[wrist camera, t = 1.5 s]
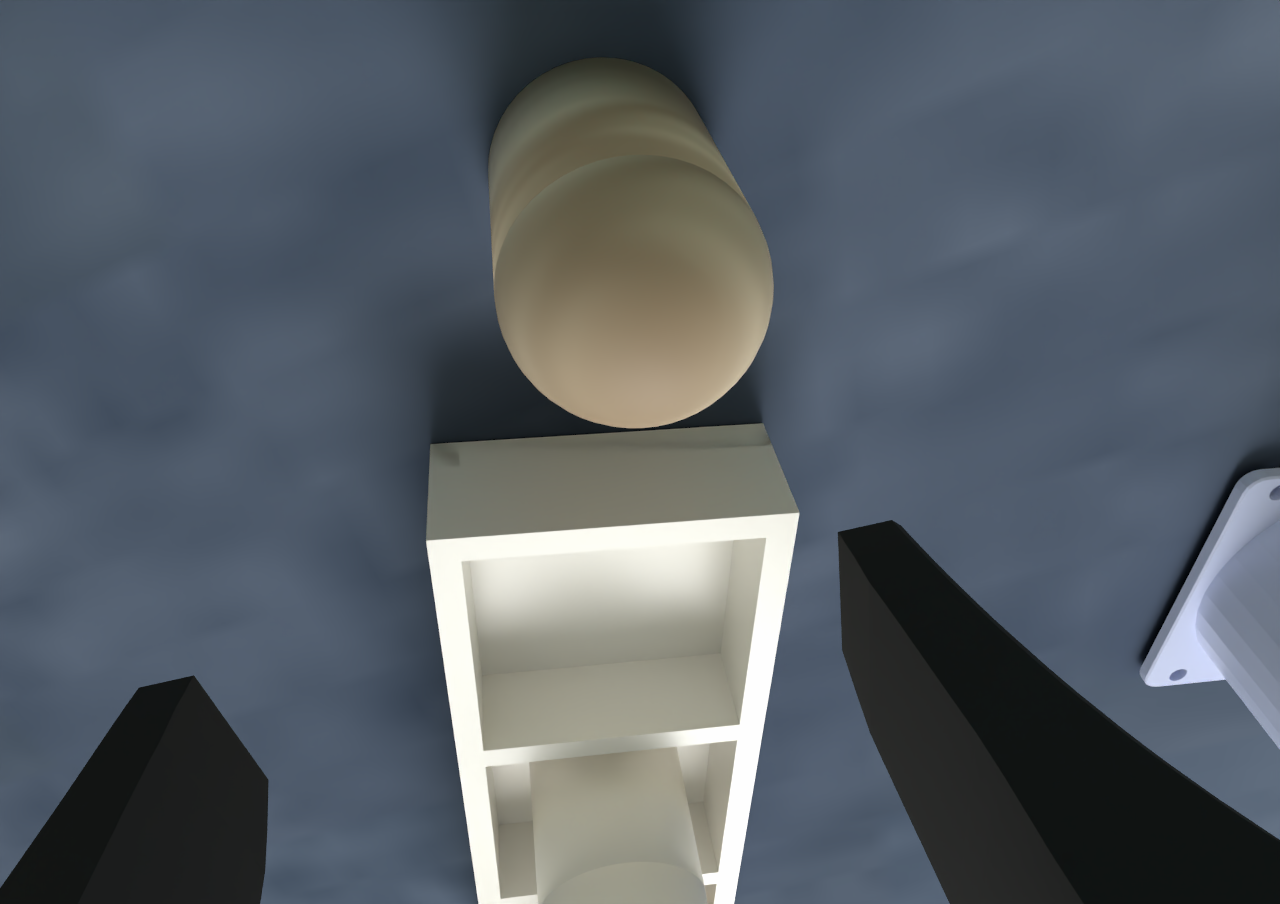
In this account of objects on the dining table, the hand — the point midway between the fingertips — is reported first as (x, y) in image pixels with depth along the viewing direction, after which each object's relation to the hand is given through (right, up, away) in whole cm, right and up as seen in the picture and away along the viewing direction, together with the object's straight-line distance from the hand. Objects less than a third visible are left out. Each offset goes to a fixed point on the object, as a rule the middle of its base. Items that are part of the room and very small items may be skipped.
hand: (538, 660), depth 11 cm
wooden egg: (0, +7, +7) cm, 10 cm away
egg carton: (0, -5, +16) cm, 17 cm away
